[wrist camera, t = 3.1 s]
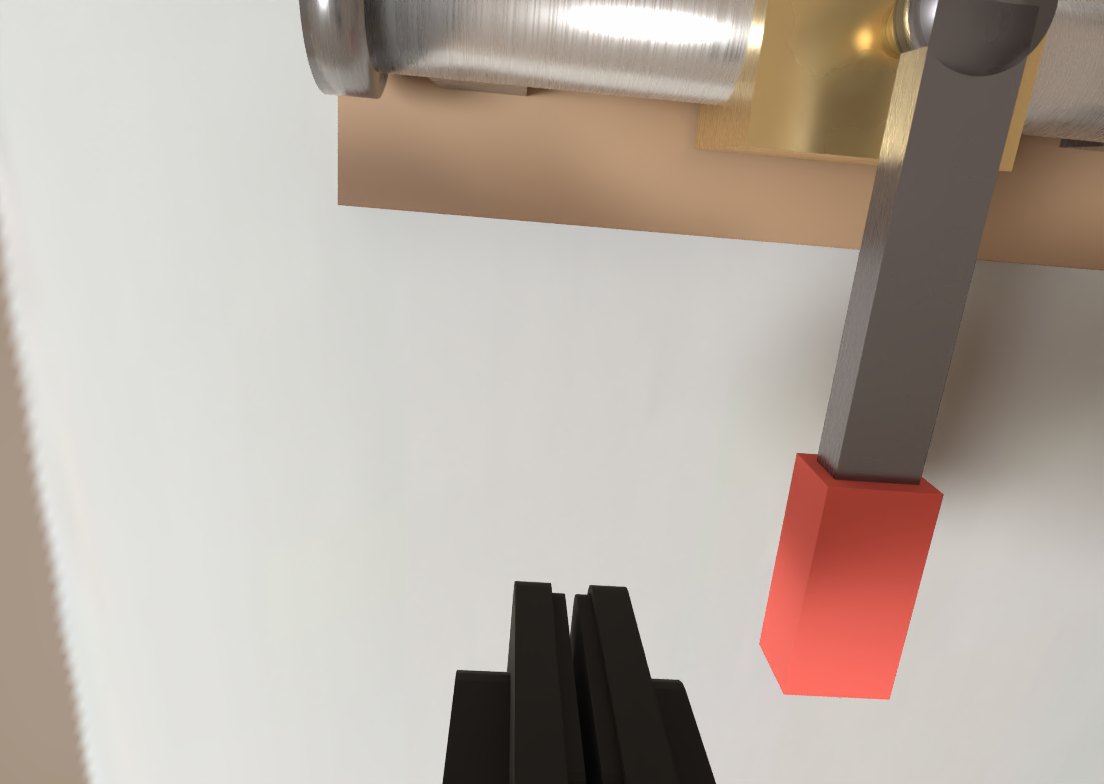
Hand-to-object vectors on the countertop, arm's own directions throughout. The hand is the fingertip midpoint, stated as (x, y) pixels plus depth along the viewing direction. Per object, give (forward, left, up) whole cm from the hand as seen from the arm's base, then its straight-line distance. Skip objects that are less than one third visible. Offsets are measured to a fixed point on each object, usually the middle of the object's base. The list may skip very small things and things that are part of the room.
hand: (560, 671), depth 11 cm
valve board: (-10, +7, -15) cm, 19 cm away
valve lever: (-4, +7, -6) cm, 10 cm away
